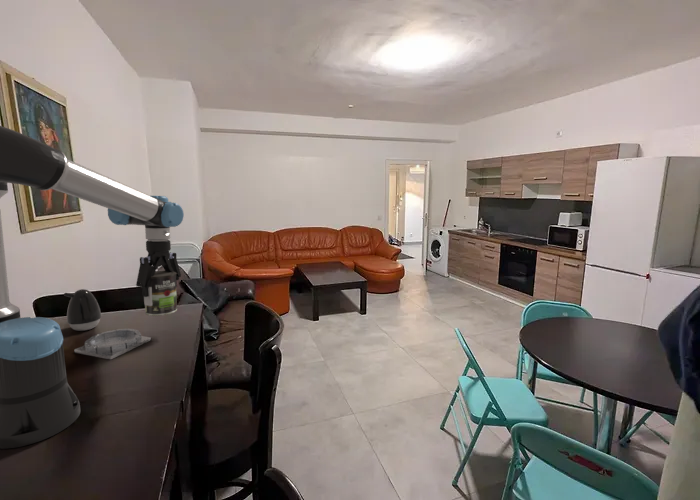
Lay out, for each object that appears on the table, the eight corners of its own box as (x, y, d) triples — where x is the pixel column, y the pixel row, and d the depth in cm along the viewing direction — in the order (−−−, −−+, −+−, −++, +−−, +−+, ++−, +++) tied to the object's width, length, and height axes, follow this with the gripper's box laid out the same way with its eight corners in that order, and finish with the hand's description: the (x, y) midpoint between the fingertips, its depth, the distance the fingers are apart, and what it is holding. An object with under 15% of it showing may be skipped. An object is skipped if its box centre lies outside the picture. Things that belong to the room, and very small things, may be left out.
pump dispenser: (72, 325, 130) (68, 287, 128) (104, 321, 135) (101, 284, 132) (63, 335, 121) (58, 294, 119) (98, 331, 125) (94, 291, 123)
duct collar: (110, 359, 105) (109, 350, 104) (74, 352, 109) (73, 343, 108) (151, 340, 119) (150, 332, 119) (117, 334, 123) (117, 326, 123)
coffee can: (182, 311, 123) (181, 273, 121) (152, 318, 115) (150, 278, 113) (169, 305, 129) (167, 269, 127) (139, 311, 121) (137, 273, 119)
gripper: (138, 243, 107) (142, 311, 110) (190, 237, 128) (192, 294, 131) (120, 242, 109) (124, 308, 112) (174, 236, 130) (176, 292, 133)
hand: (161, 301), depth 122 cm, fingers closed on coffee can, 10 cm apart
